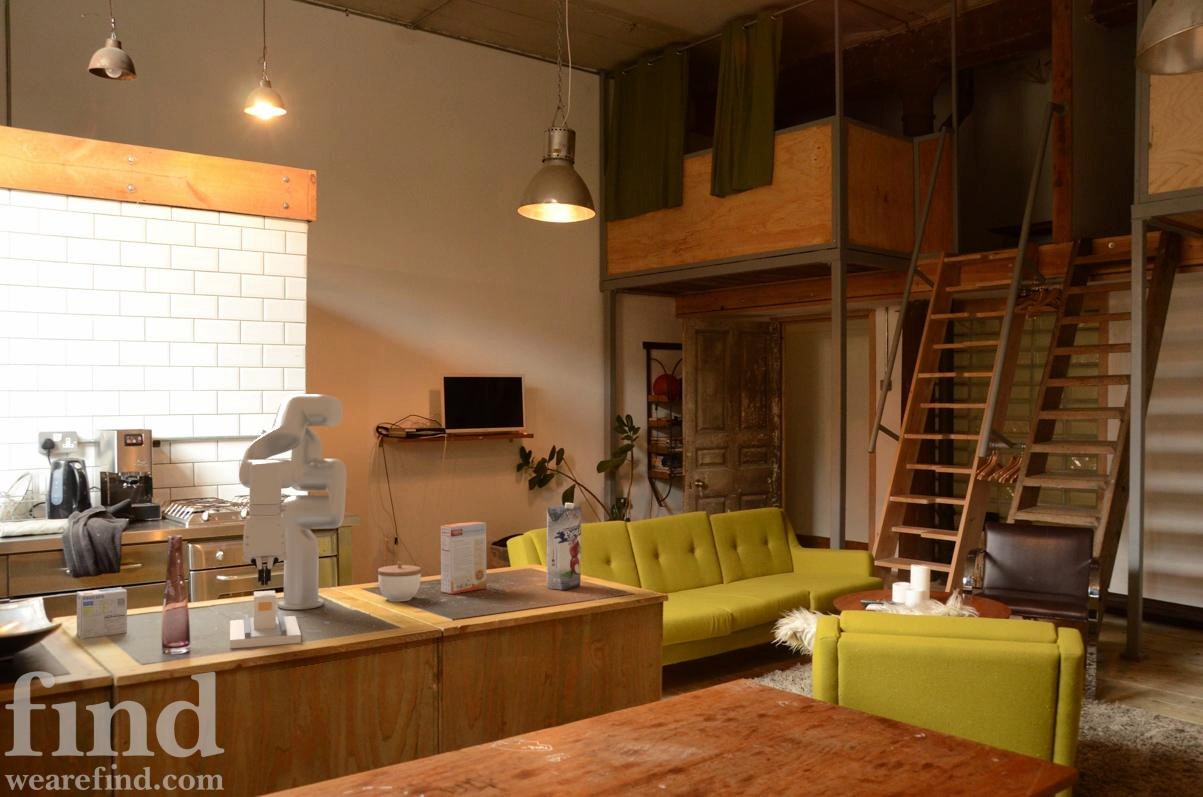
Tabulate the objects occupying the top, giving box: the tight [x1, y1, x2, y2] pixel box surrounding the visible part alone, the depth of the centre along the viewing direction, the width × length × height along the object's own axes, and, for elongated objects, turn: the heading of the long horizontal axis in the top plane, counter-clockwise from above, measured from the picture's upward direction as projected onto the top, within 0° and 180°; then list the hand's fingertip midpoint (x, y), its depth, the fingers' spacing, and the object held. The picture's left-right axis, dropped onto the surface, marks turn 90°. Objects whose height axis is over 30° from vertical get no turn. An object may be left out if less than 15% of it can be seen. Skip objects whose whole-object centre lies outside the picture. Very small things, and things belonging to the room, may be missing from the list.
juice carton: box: [546, 502, 582, 591], centre depth 304 cm, size 9×10×27 cm
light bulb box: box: [76, 586, 128, 639], centre depth 240 cm, size 11×7×11 cm, turn 129°
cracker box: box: [440, 521, 487, 595], centre depth 298 cm, size 14×6×21 cm, turn 136°
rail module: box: [253, 589, 277, 630], centre depth 238 cm, size 7×5×8 cm
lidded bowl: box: [377, 561, 422, 603], centre depth 284 cm, size 13×13×11 cm
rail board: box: [229, 611, 302, 649], centre depth 238 cm, size 22×16×3 cm
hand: (264, 584), depth 238 cm, fingers closed
